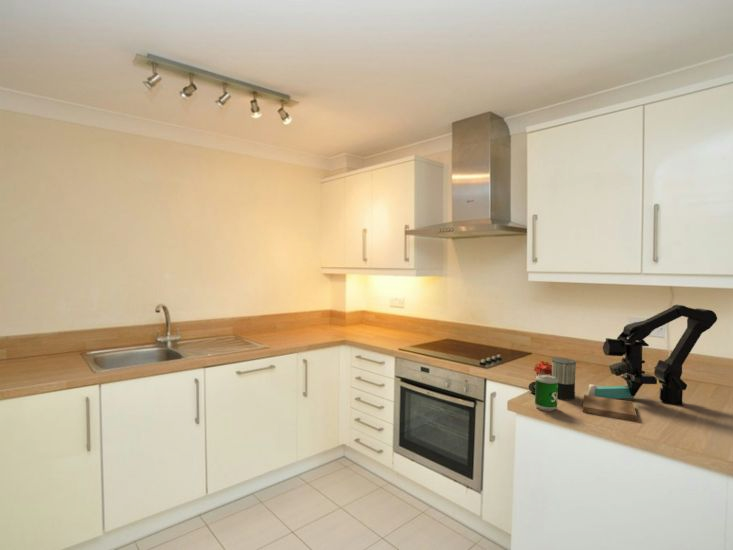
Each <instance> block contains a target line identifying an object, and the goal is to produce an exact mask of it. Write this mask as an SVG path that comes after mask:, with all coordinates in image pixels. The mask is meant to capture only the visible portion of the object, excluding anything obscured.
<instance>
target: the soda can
mask: <svg viewBox="0 0 733 550" xmlns="http://www.w3.org/2000/svg"><path fill="white" fill-rule="evenodd" d="M534 382H535V393H534V406H536V407H537V409H538V410H541V411H546V412H554V411H555V410H556V409H557V408H558V398H557V396H558V379H556V377H555V376H553V375H549V374H539V375H538V376H537V375H536V377H535V381H534ZM554 409H555V410H554ZM553 410H554V411H553Z"/></svg>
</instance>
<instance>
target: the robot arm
mask: <svg viewBox="0 0 733 550" xmlns="http://www.w3.org/2000/svg"><path fill="white" fill-rule="evenodd" d="M681 317H684V318H687V319H686V320H687V321H686V326H687V327H686V328H685V330H684V331H683V334H682V335H681V337H680V338H679V340H678V342H677V343H676V345H675V347H674V348H673V349H672V351H671V353H670V354H669V355H668V356H669V357H668V358H667V359H665V360H662V359H659V360H658V361H657V364H656V365H655V367H653V369H654V372H653V373H654V375H652V374H648V373H645V372H646V371H645V370H643V364H646V361H645V359H643V347H649V346H650V344H649V343H647V342H646V341H645V339H646V338H647V337H648V336H650V335H651V334H652V332H653V331H654V330H656V329H659V328H660V327H662V326H665V325H666V324H669V323H670V322H673V321H675V320H677V319H679V318H681ZM717 321H718V316H717V314H716V313H715V312H714V311H713V310H712V309H705V308H700V307H699V308H692V307H688V306H686V305H683V304H673V305H672V306H671V307H669V308H668V309H666V310H663V311H661V312H659V313H657V314H655V315H653V316H651V317H649V318H647V319H645V320H642V321H635V322H631V323H629V324H626V325H625V326H624V327H623V329H622V332H621V333H620V334H619V335H618V336H617V337H616V338H605V341H604V343H603V345H602V351H603V354H604V355H605V356H610V357H622V358H621V361H620V362H617V363H613V364H609V366H608V367H609V370H610V373H611V375H614V376H617V377H621V378H622V379H623V380H624V381H625V382H626V384H627V385H626V386H628V388H629V391H630V394H631V396H634V397H635V396H636V395H637V393H638V392H639V390H640V389H641V388H642V386H643V385H657V384H658V383H659V384H661V386H660V388H659V393H658V394H659V395H658V396H659V400H660V401H661V403H664V404H669V405H675V406H684V403H683V395H684V394H683V393H684V392H683V391H686V389H687V387H688V384H687V383H685V381H684V380H683V379H682V378H681V377H682V375H683V366H684V365H683V364H684V363H685V362H686V360H687V358H688V356H689V355H690V354H691V352H692V350H694V349H693V348H694V347H695V345H696V344H697V341H699V339H700V338H701V335H702V334H703V333H705V332H706V331H708V330H709V329H711V328H712V326H713V325H715V323H716V322H717ZM623 356H624V357H623Z"/></svg>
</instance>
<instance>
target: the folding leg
mask: <svg viewBox="0 0 733 550" xmlns="http://www.w3.org/2000/svg"><path fill="white" fill-rule="evenodd" d="M588 395H591V396H597V397H604V398H611V399H634V397H635V396H631V394H630V391H629V388H628V385H612V386H611V385H610V386H609V385H608V386H606V385H605V386H604V385H603V386H597V385H596V384H588Z"/></svg>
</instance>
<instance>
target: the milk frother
mask: <svg viewBox="0 0 733 550" xmlns="http://www.w3.org/2000/svg"><path fill="white" fill-rule="evenodd" d="M577 362H578V361H576V360H575V359H570V358H565V357H553V358H551V365H552V375H553V376H555V377H556V379H558V396H557V399H558V398H561V399H560V400H564V399H573V400H575V399H576V392H575V391H576V370H577V368H576V367H577V366H576V365H577V364H578V363H577ZM535 382H536V381H531V382H530V383H529V384H528V387H527V388H528V390H529V391H530V392H531V393H533V394H535Z"/></svg>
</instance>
